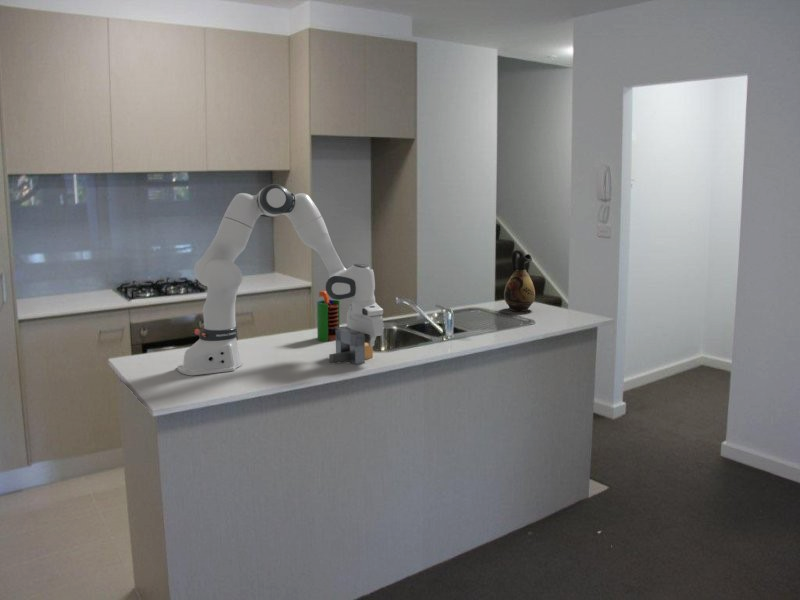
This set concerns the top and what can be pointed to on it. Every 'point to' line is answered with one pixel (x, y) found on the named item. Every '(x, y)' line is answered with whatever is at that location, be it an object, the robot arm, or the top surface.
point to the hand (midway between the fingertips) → (364, 343)
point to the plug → (346, 355)
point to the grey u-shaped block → (351, 344)
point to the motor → (327, 317)
